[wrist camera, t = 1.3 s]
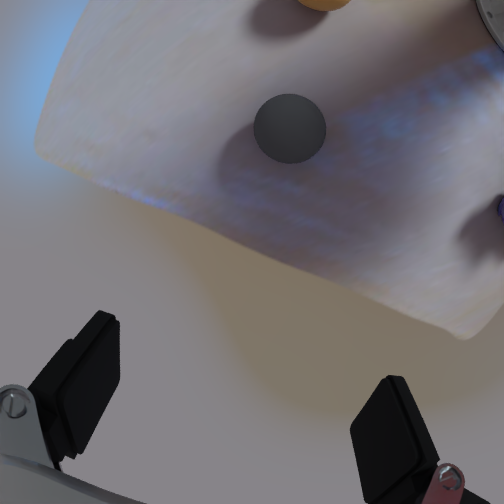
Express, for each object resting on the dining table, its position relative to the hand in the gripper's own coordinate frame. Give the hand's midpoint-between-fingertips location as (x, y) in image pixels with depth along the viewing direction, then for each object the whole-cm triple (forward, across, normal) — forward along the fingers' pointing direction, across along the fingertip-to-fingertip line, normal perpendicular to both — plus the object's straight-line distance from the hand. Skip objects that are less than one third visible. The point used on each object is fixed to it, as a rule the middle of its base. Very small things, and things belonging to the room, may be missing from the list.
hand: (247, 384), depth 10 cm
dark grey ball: (+17, 0, -9) cm, 19 cm away
